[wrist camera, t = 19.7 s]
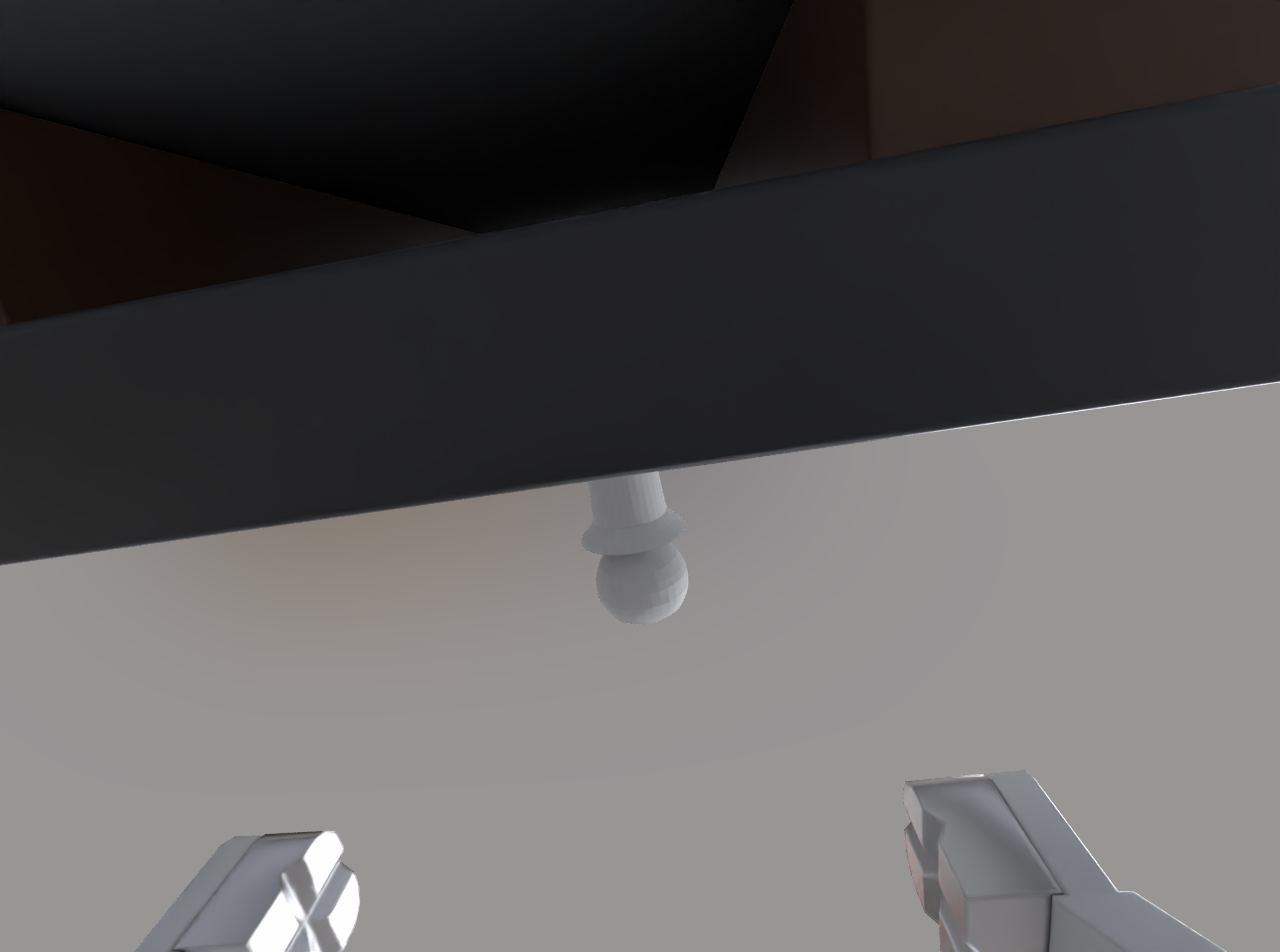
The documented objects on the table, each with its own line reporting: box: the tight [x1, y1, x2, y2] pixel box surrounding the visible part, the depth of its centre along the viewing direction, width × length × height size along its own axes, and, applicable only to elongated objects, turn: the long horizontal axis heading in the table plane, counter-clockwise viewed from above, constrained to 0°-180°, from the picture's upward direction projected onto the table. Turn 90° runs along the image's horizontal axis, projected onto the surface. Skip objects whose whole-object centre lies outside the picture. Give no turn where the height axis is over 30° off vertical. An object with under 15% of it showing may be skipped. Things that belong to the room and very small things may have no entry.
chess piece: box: [581, 471, 688, 624], centre depth 15 cm, size 5×5×8 cm
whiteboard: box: [0, 0, 1280, 566], centre depth 13 cm, size 16×21×3 cm
